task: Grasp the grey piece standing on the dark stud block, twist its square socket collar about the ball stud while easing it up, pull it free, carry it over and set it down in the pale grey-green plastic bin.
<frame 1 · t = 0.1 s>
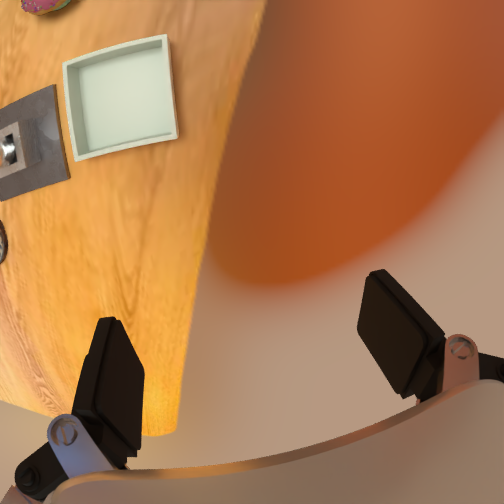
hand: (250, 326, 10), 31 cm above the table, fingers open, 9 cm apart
bin: (124, 97, 31), on the table
stud block: (24, 145, 30), on the table
grey piece: (21, 146, 29), point 1 cm above the table, touching stud block
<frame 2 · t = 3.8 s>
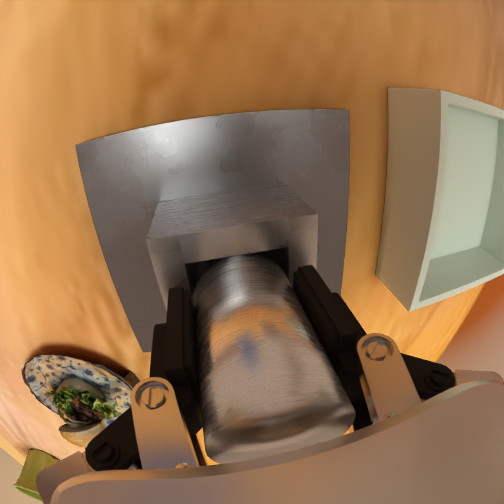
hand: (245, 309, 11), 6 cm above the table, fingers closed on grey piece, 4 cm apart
plant pot: (45, 455, 28), on the table
bin: (449, 184, 18), on the table
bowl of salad: (84, 382, 21), on the table
stud block: (227, 239, 17), on the table
grey piece: (229, 247, 16), point 1 cm above the table, touching gripper, stud block
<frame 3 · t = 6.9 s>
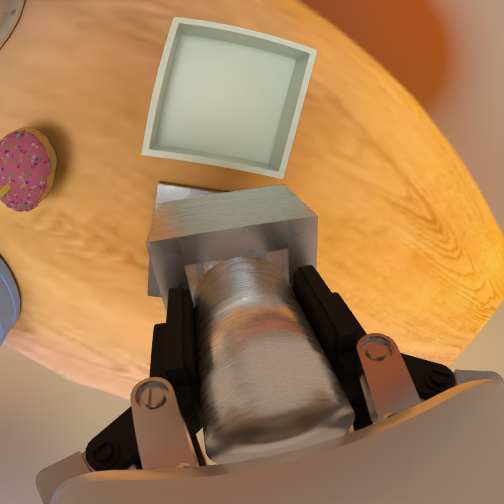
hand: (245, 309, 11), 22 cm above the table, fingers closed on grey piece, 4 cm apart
bin: (225, 97, 26), on the table
cupcake: (40, 160, 25), on the table
stud block: (211, 249, 34), on the table
grey piece: (229, 249, 16), point 16 cm above the table, touching gripper
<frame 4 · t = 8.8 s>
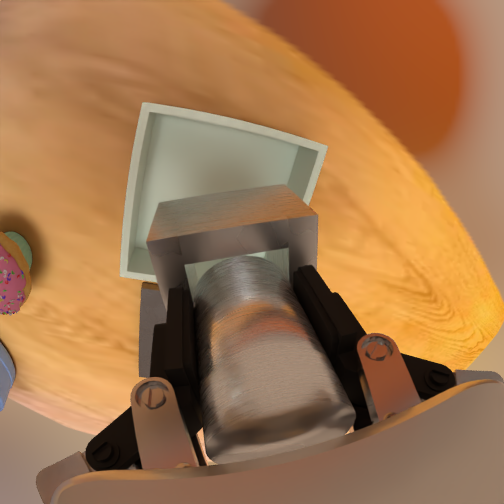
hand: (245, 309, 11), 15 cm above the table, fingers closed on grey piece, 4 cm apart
bin: (212, 193, 24), on the table
cupcake: (15, 250, 22), on the table
stud block: (200, 340, 32), on the table
grey piece: (229, 248, 16), point 10 cm above the table, touching gripper
when the fingers open (8 cm above the table, at t = 10.4 s): grey piece drops 2 cm, resting on bin.
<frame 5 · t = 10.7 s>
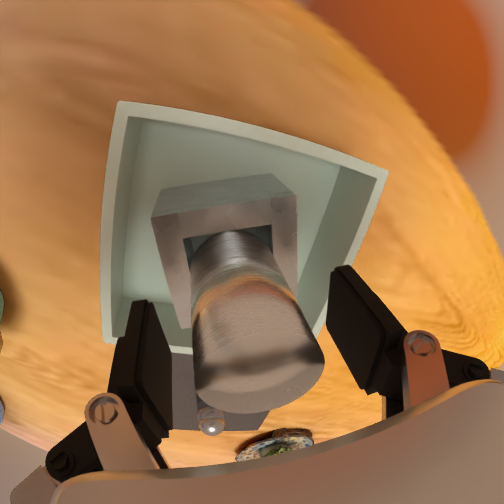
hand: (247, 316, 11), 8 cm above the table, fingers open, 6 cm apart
bin: (223, 227, 18), on the table
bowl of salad: (272, 443, 36), on the table
stud block: (207, 391, 26), on the table
grey piece: (223, 230, 18), point 1 cm above the table, touching bin
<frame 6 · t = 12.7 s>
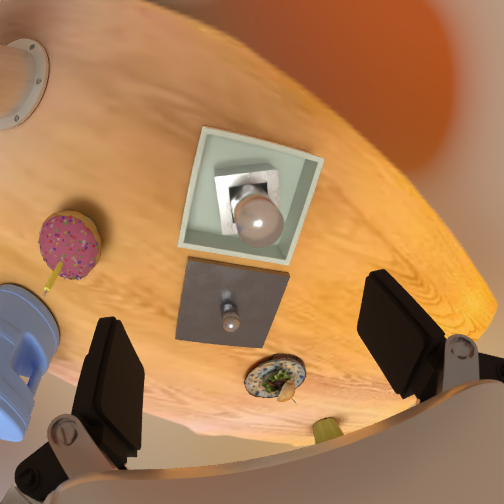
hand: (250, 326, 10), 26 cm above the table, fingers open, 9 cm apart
plant pot: (323, 422, 65), on the table
bin: (244, 190, 34), on the table
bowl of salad: (273, 373, 51), on the table
water jug: (25, 318, 38), on the table
cupcake: (81, 230, 33), on the table
stud block: (228, 306, 42), on the table
grey piece: (244, 191, 34), point 1 cm above the table, touching bin
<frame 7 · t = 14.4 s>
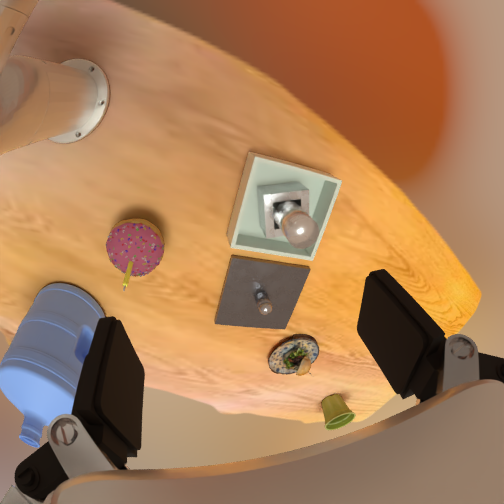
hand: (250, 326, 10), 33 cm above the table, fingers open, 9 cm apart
plant pot: (330, 398, 76), on the table
bin: (278, 202, 44), on the table
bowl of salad: (291, 351, 62), on the table
water jug: (71, 314, 47), on the table
cupcake: (139, 234, 42), on the table
stud block: (260, 294, 52), on the table
grey piece: (278, 203, 44), point 1 cm above the table, touching bin
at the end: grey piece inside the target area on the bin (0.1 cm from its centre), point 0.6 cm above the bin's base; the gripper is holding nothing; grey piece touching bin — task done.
